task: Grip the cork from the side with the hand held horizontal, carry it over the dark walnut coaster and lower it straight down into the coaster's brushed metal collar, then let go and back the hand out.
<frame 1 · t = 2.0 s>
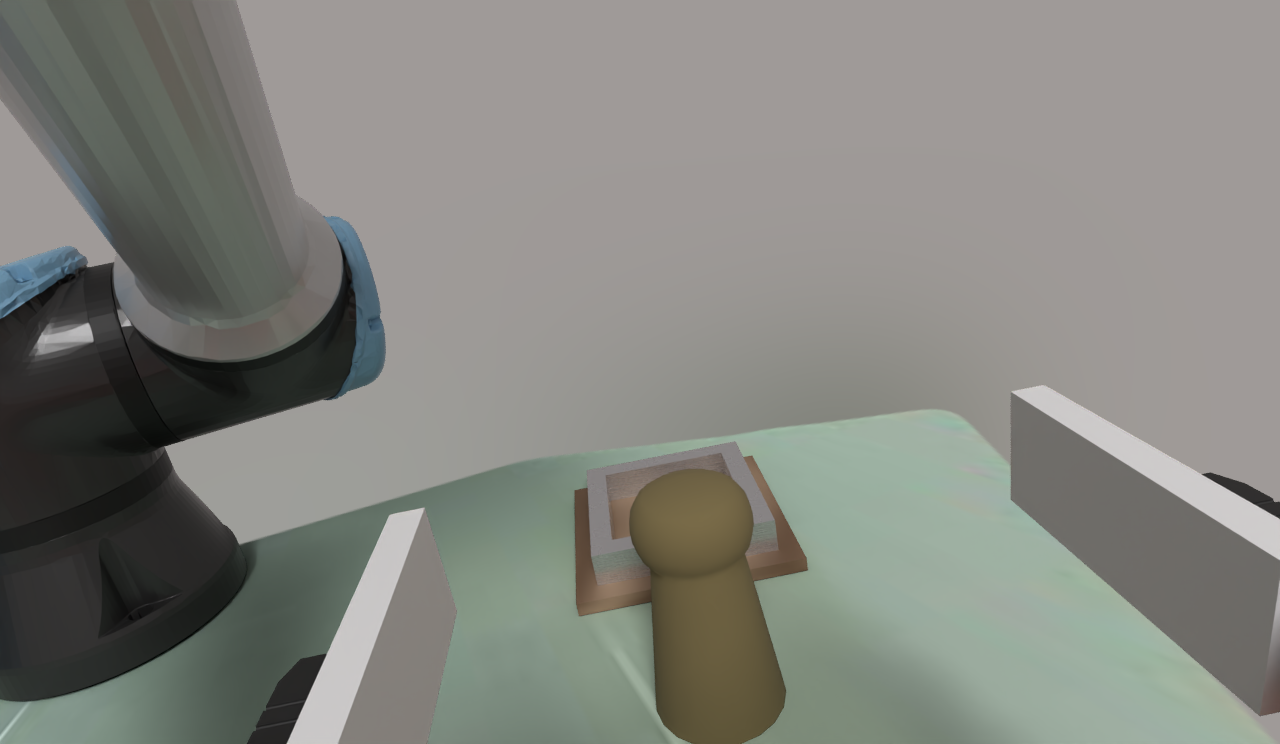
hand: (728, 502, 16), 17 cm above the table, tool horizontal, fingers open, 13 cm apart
coaster: (677, 530, 47), on the table
cork: (720, 696, 34), on the table
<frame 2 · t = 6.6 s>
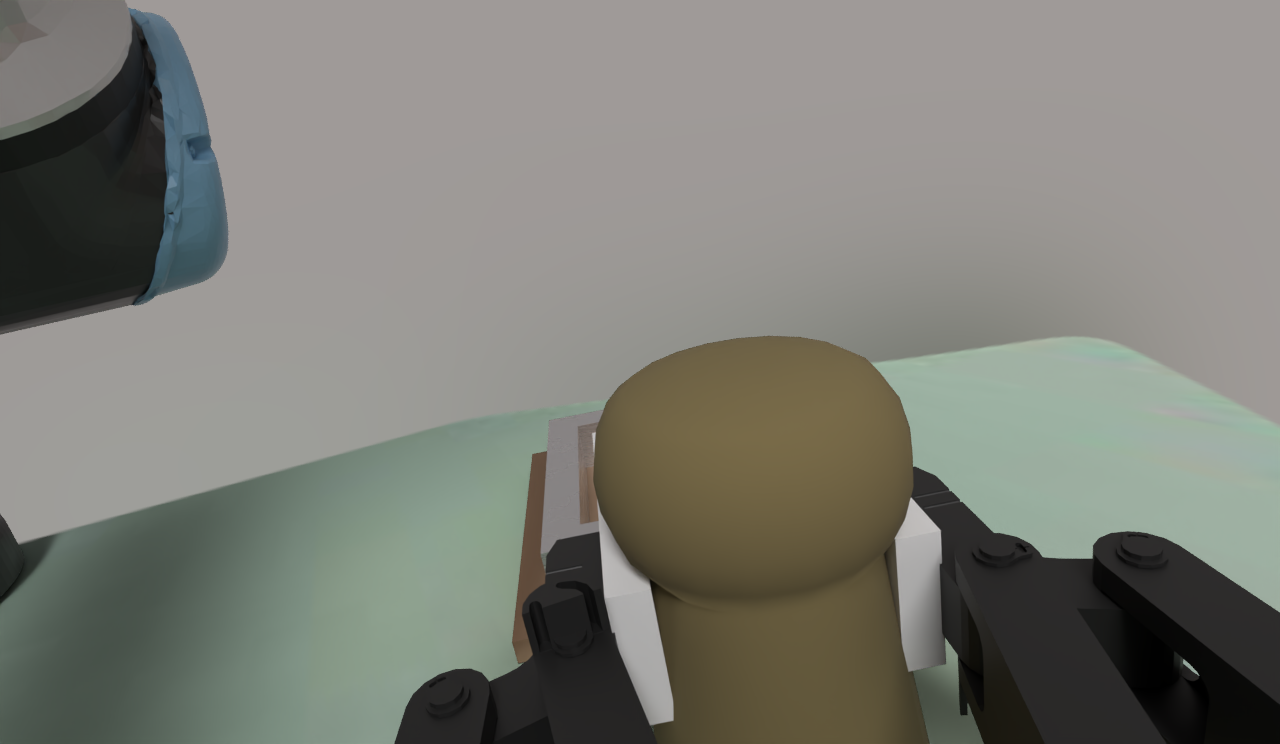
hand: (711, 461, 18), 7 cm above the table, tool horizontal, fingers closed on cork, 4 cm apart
coaster: (694, 512, 29), on the table
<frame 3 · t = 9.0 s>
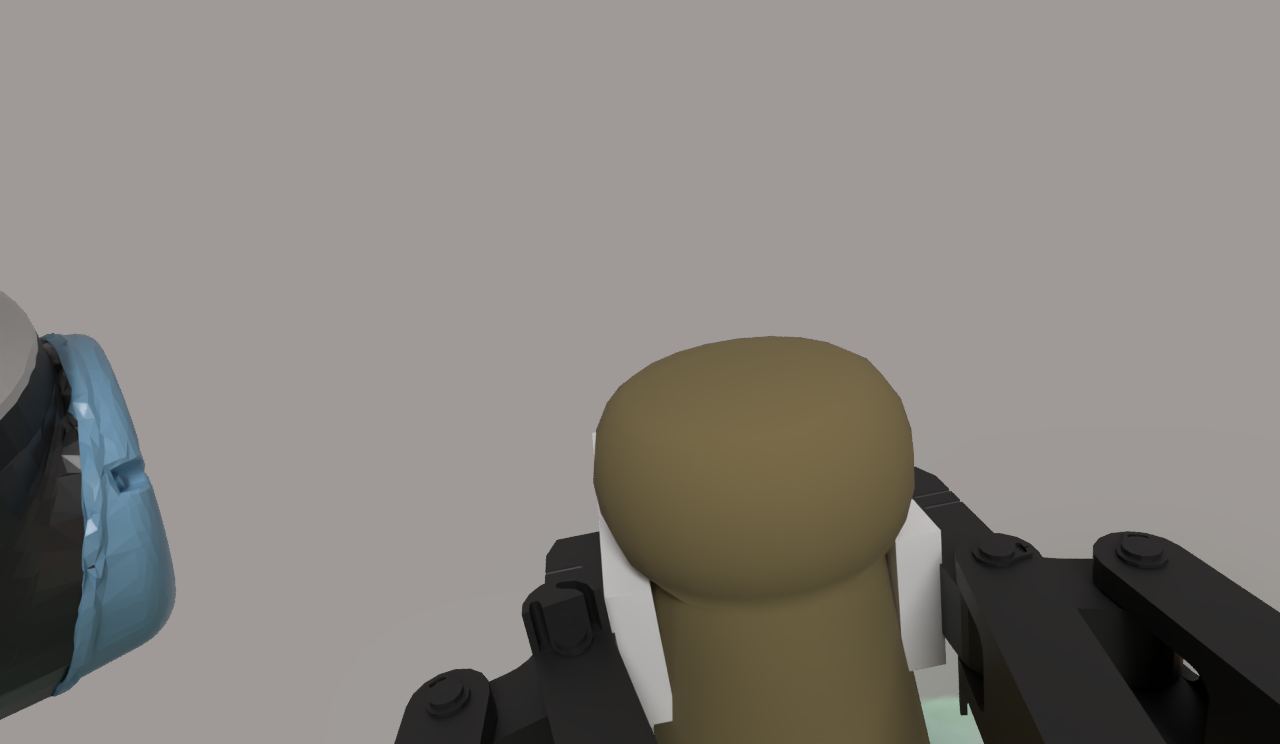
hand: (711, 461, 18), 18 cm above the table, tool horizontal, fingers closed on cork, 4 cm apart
when the fingers open (8 cm above the table, at t = 11.8 s): cork stays where it is, resting on coaster.
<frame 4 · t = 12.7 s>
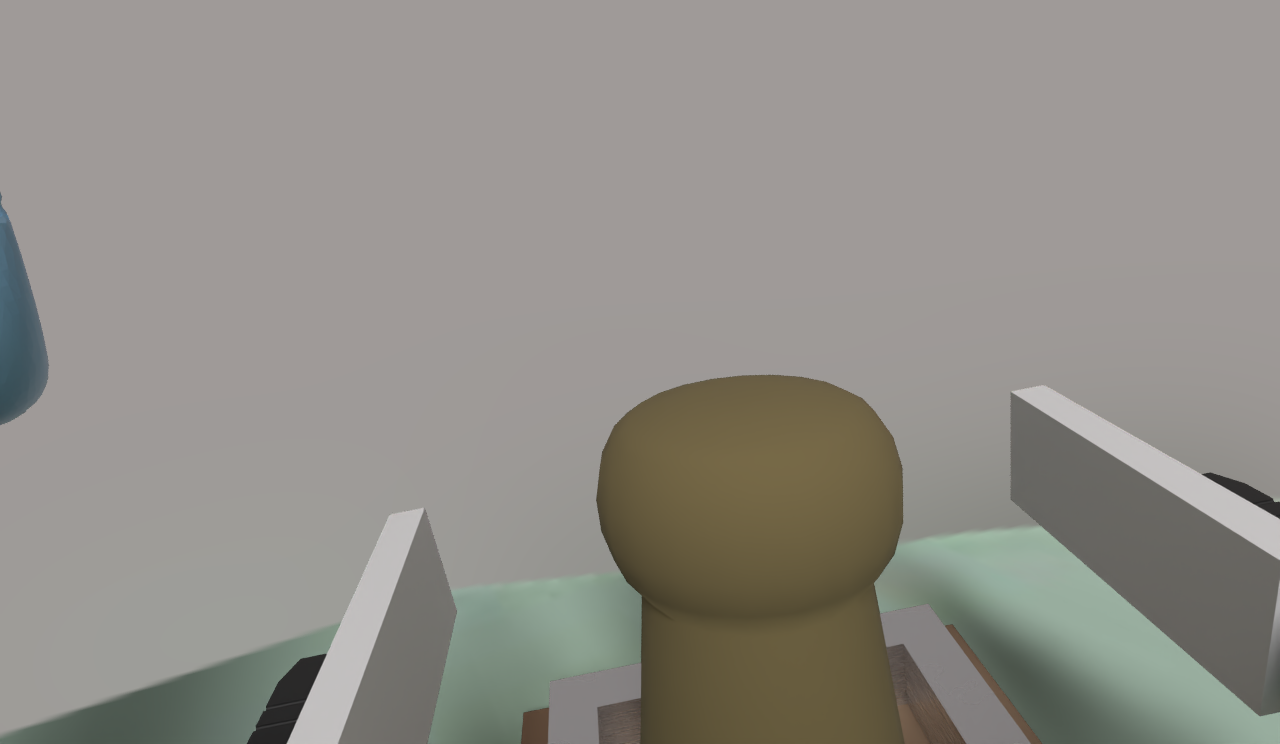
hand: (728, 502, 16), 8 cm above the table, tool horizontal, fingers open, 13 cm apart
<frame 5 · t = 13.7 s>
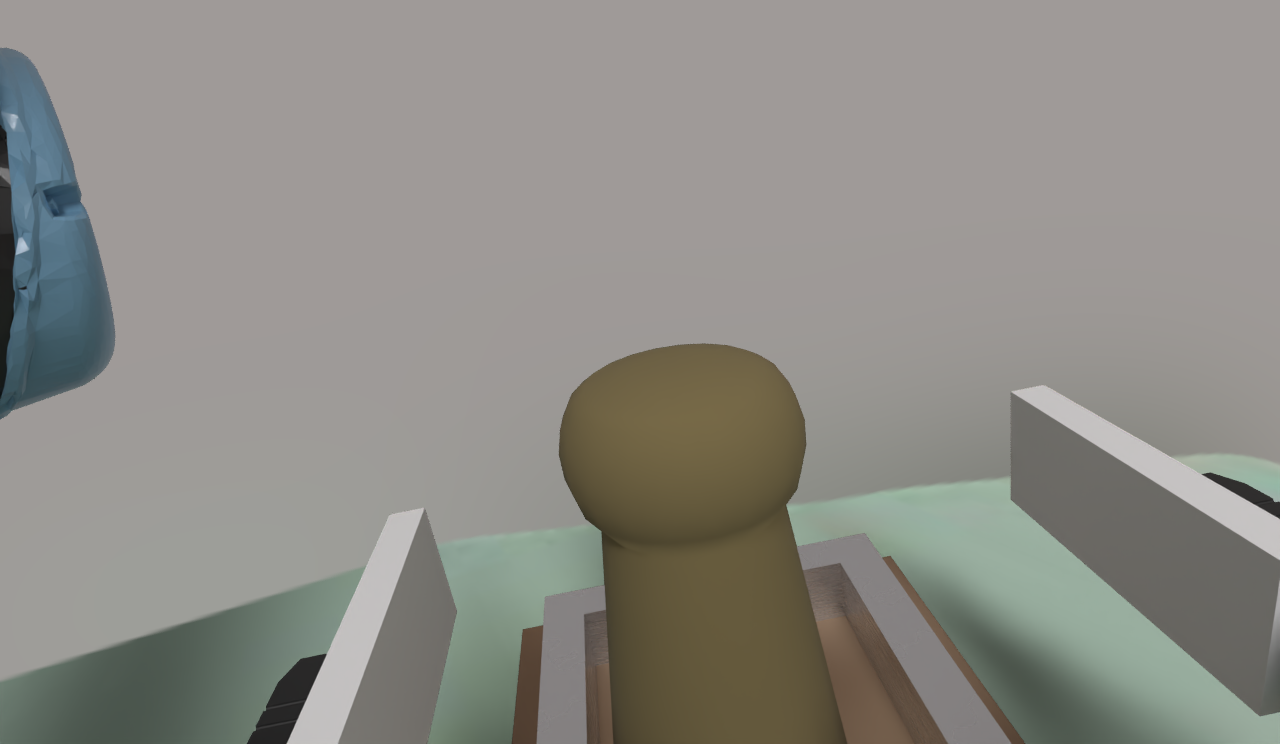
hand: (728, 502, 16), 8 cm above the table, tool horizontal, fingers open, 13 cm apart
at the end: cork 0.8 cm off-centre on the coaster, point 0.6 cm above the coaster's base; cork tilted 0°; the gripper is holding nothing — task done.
